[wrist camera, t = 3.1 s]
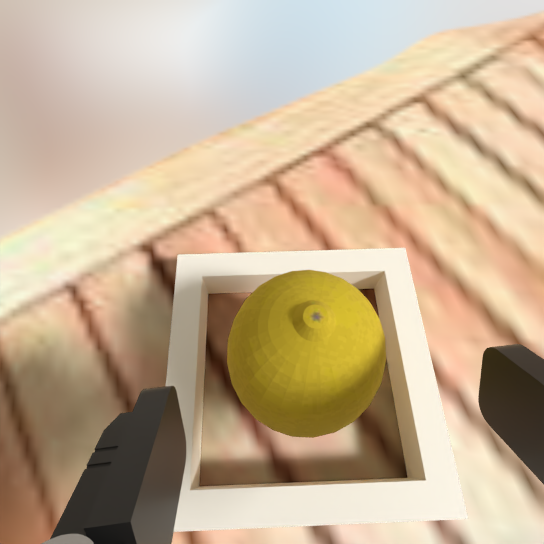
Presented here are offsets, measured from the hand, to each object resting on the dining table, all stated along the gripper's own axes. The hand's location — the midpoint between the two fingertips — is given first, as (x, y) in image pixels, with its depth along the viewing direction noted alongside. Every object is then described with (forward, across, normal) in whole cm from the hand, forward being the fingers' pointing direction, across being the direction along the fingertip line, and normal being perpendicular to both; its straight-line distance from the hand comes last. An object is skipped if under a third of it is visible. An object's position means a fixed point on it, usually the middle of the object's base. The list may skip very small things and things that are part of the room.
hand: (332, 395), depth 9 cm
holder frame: (+6, 0, +4) cm, 8 cm away
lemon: (+7, 0, +4) cm, 8 cm away
